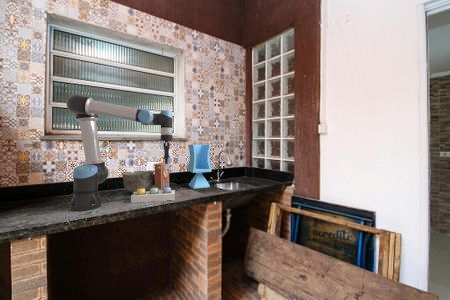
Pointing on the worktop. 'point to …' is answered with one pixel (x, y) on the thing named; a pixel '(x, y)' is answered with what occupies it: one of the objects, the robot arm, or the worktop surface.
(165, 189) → the button blue
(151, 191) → the button sage
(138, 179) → the bowl
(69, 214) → the worktop surface
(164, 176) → the cracker box
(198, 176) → the planter
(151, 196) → the console
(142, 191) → the button mustard
